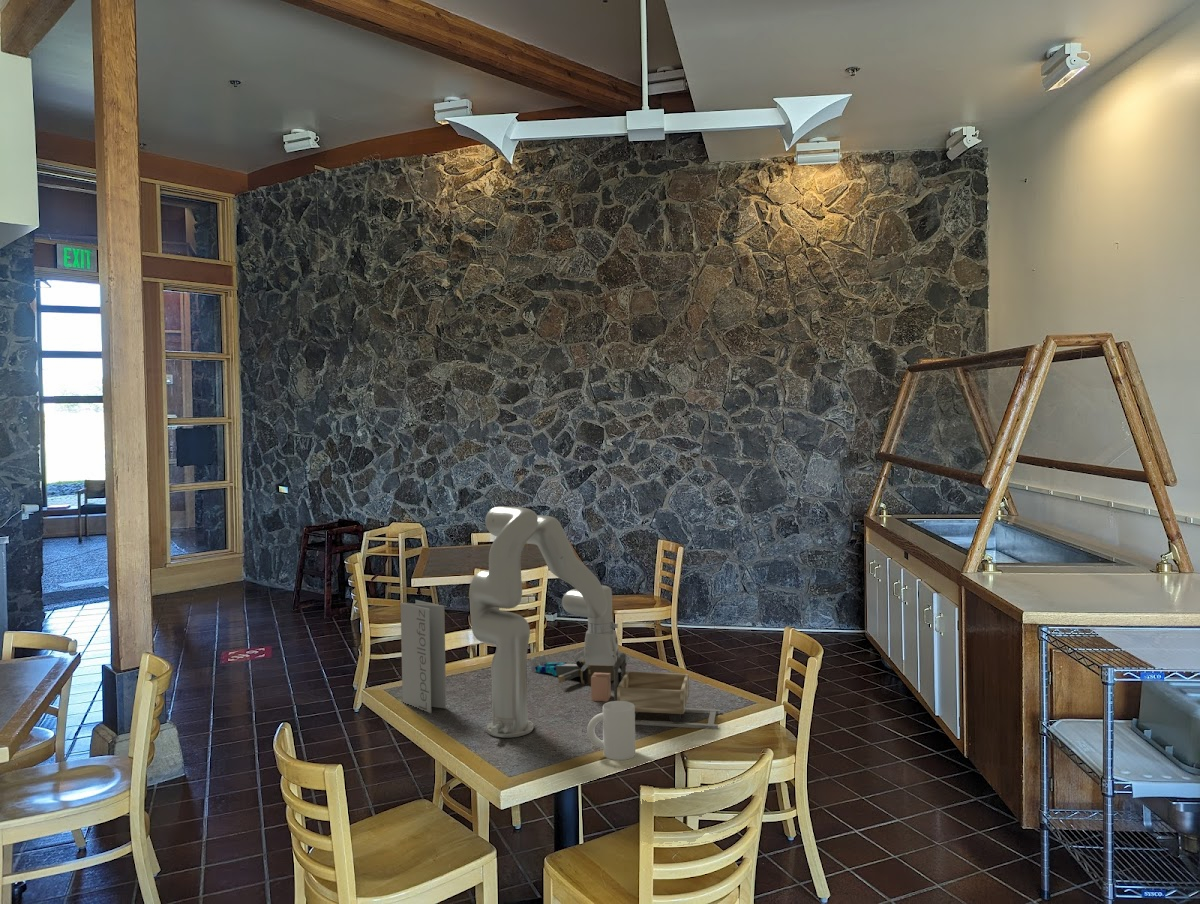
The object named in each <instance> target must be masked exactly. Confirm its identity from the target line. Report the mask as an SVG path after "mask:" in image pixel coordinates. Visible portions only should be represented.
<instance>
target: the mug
mask: <svg viewBox="0 0 1200 904" xmlns="http://www.w3.org/2000/svg"><path fill="white" fill-rule="evenodd" d="M635 720H636V717H635V706H634V704H633V703H630V702H627V701H614V700H611V701H606V702H605V703H604V704H603V705H602V712H600V713H598V714H596V715H594V716H593V717H592V718H591V719H590V720H589V722H588V724H587V726H586V727H587V728H586V735H587V737H588V739H589V741H590V742H591V743H592V744H593V746H596V747H597V748H600V749H602V751H603V753H602V754H603V756H604V757H605V758H606V759H609V760H612V761H613V760H614V761H624V760H625V761H626V760H629V759H632V758H634V757H635V756H636V725H635ZM601 721H602V739H600V738H599V737H598V735H596V732H595V730H596V729H595V728H596V727H597V725H598V723H601Z"/></svg>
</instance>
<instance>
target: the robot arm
mask: <svg viewBox="0 0 1200 904" xmlns="http://www.w3.org/2000/svg"><path fill="white" fill-rule="evenodd" d="M484 524H485V528H486V529H487V531H488V533H490V534H491V535H492V536H493V537H495V539H494V540H493V542H492V543H491V546H490V549H489V553H488V569H484V570H481V571H478V572H477V573H476V574H475V575H474V576H473V578H472V579H471V582H470V585H469V590H468V591H469V593H468V594H469V610H470V611H469V612H470V625H471V631H472V633H473V636H474V638H475V639H476V640H477V641H479V642H481V643H483V644H486V645H490V646H494V647H496V649H495V653H494V654H493V657H492V659H491V668H490V669H491V671H490V672H491V673H490V674H491V710H492V711H491V712H492V713H491V715H492V721H491V722H489V723H487V725H486V732H487V733H488V734H489V735H490V736H492V737H496V738H505V739H508V738H509V739H510V738H511V739H512V738H520V737H521V736H526V735H528V734H530V733H531V732H533V730H534V725H535V724H534V723H533V722H532V721H531V720H529V718H528V709H529V708H528V707H529V706H528V668H527V667H528V665H527V664H528V648H529V641H530V636H531V629H530V624H529V623H528V621H527V619H526V618H525V617H524V616H522V615H521V614H518V613H515V612H512V611H505V610H501V609H514V608H516V607H517V606H519V605H520V603H521V601H522V596H523V583H522V568H521V558H522V556H521V555H522V552H523V550H524V547H525V545H526V544H529V545H535V546H537V548H538V550H539V551H540V553H541V555H542V557H543V559H544V561H545V564H546V566H547V568H548V570H549V571H550V573H552V574H553V575H554V576H555V577H557V578H558V579H560V580H562V581H563V582H565V583H567V584H569V585H570V586H572V587H573V589H570V590H568V591H567V592H565V593H564V594H563V596H562V599H561V605H562V608H563V609H564V611H565V612H566V613H568V614H570V615H575V616H579V617H585V618H587V630H586V631H585V636H584V649H583V650H581V651H579V652H577V653H575V654H574V655H573V656H572V659H573V660H574V662H576V664H577V666H578V667H579V668H580V669H581V671H582V676H583V681H584V684H583V685H587V683H588V682H589V670H588V668H587V667H588V666H589V665H594V666H614V665H615V663H616V661H617V660H618V658H619V657H620V655H621V654H622V653H624V652H622V651H621V650H619V641H618V634H617V631H616V630H615V629H618V627H619V626H618V623H615V622H614V619H613V616H614V615H613V591H612V588H611V587H610V586H608V585H602V583H601V582H600V580H599V579H598V577H597V576H596V575H595V574H594V573H593V572H592V570H591V569H589V568H588V566H586V565H585V564H584V562H582V561H581V560H580V559H578V558H577V557H578V556H576V554H575V551H574V549H573V547H572V545H571V543H570V541H569V539H568V537H567V534H566V532H565V531H564V530H565V529H564V528H563V526H562V524H561V522H560V521H559V520H558V519H557V518H556V517H554V516H549V515H541V514H537V513H536V512H535V510H533V509H530V508H526V507H520V506H519V507H518V506H504V505H498V506H495V507H492V508H490V510H489V511H487V513H486V515H485V519H484ZM581 657H583V660H584V662H585V664H583V663H582V662H581V659H580V658H581ZM630 658H631V656H630V655H628V654H626V658H625V659H626V666H627V664H628V663H629V661H630ZM621 680H622V669H621V666H620V668H619V669H618V686H619V684H620V682H621Z"/></svg>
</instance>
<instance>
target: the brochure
mask: <svg viewBox="0 0 1200 904" xmlns="http://www.w3.org/2000/svg"><path fill="white" fill-rule="evenodd" d="M445 621H446V620H445V605H441V604H436V603H432V602H426V601H423V600H420V599H419V600H418V599H415V603H412V602H411V603H410V602H400V629H401V630H400V638H401V639H400V640H401V642H400V644H401V646H400V647H401V681H402V682H401V683H402V684H401V685H402V687H401V688H402V693H401V695H402V703H403V702H404V703H403V704H405V703H406V704H405V705H407V704H409V705H408V706H410V705H412V706H411V707H413V706H414V707H413V708H415V707H417V708H416V709H418V708H419V709H418V710H421V711H423V710H424V712H427V713H429V714H432V708H439V709H447V678H446V677H447V676H446V675H447V673H446V631H445V629H446V626H445V625H446V624H445V623H446V622H445Z"/></svg>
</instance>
